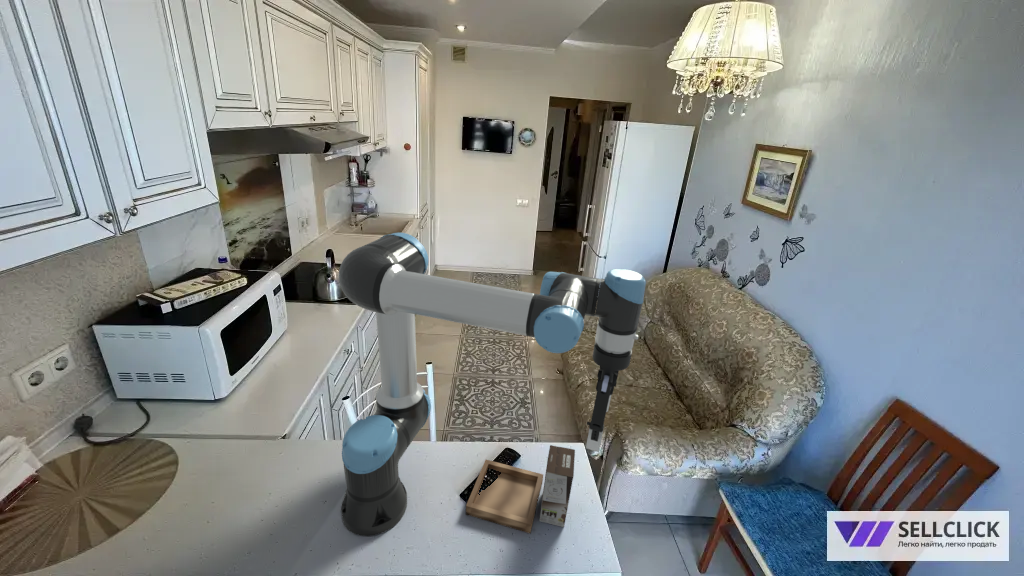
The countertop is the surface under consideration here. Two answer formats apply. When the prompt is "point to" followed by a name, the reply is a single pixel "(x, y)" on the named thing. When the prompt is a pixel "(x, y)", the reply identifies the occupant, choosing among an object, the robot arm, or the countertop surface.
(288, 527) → the countertop surface
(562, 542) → the countertop surface
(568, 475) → the coffee box
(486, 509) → the wooden tray
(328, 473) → the countertop surface
